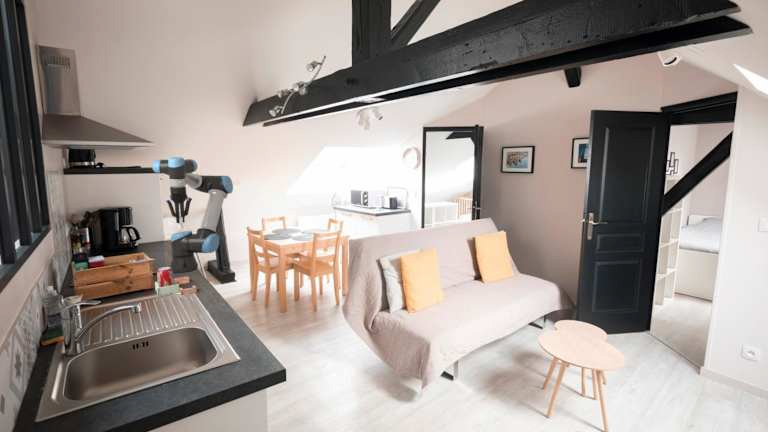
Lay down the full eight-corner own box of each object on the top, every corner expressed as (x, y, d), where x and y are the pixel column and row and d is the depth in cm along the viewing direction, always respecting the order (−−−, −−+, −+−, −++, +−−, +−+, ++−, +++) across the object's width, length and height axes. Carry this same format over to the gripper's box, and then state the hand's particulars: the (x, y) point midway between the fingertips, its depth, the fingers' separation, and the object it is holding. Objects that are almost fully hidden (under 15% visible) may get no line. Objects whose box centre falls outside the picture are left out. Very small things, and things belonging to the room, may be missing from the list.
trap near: (195, 289, 199) (194, 285, 198) (196, 292, 195) (196, 287, 195) (180, 292, 195) (179, 288, 194) (181, 295, 191) (181, 290, 191)
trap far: (188, 280, 213) (187, 276, 213) (189, 282, 210) (189, 278, 209) (174, 283, 209) (173, 278, 209) (175, 285, 206) (175, 280, 205)
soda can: (170, 292, 194) (168, 270, 192) (155, 293, 194) (153, 270, 192) (176, 288, 201) (174, 266, 199) (162, 288, 201) (160, 266, 199)
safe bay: (175, 285, 205) (175, 278, 204) (179, 292, 195) (179, 284, 195) (155, 289, 199) (154, 282, 199) (158, 296, 190) (157, 288, 189)
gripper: (167, 188, 198) (170, 231, 204) (193, 186, 208) (196, 228, 213) (162, 186, 203) (165, 228, 208) (187, 184, 213) (190, 225, 218)
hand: (181, 228), depth 211 cm, fingers closed
